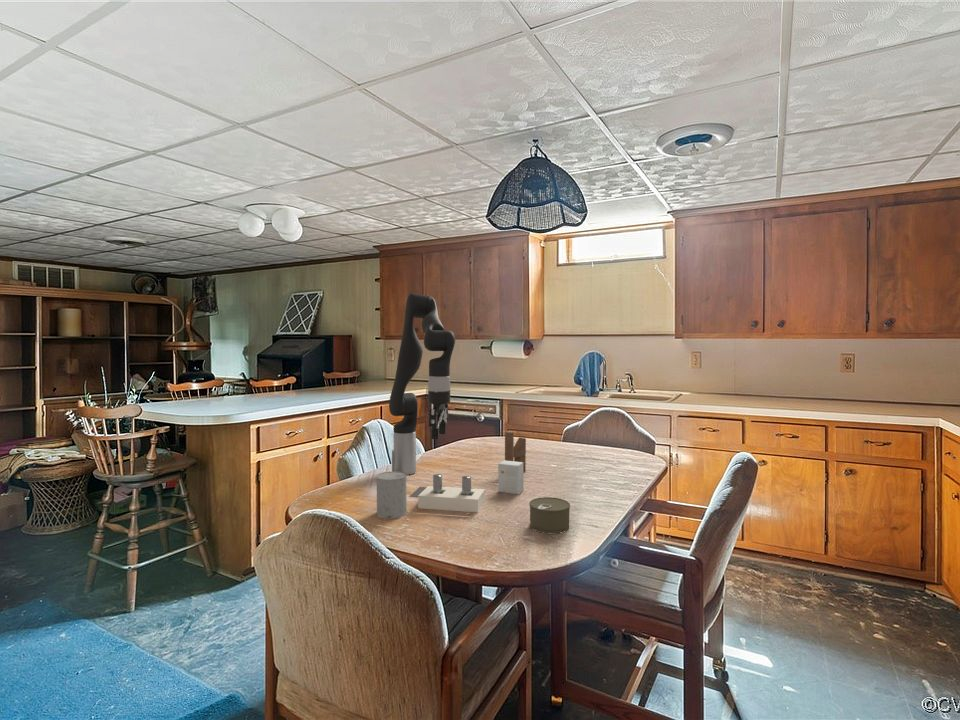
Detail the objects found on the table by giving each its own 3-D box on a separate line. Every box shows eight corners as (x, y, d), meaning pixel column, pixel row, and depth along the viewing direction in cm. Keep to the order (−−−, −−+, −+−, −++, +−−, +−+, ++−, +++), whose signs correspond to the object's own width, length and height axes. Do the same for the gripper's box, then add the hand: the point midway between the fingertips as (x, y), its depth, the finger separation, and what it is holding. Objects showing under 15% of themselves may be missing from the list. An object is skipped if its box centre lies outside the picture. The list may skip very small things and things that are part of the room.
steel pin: (432, 505, 165) (432, 476, 165) (434, 503, 168) (434, 473, 168) (440, 506, 165) (440, 476, 164) (443, 503, 168) (443, 474, 167)
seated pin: (461, 507, 163) (461, 477, 163) (463, 504, 166) (463, 475, 166) (470, 508, 163) (470, 478, 162) (472, 505, 166) (472, 476, 165)
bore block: (418, 509, 162) (418, 495, 162) (428, 498, 173) (428, 485, 173) (477, 513, 158) (477, 499, 158) (484, 502, 169) (484, 489, 169)
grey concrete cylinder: (392, 521, 152) (392, 481, 151) (370, 515, 157) (369, 476, 156) (413, 511, 160) (412, 474, 159) (390, 506, 165) (390, 470, 164)
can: (577, 525, 148) (577, 502, 148) (556, 537, 139) (556, 513, 139) (543, 516, 156) (543, 494, 156) (521, 527, 147) (521, 504, 146)
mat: (409, 497, 174) (409, 496, 174) (419, 487, 186) (419, 486, 186) (447, 500, 171) (447, 499, 171) (456, 490, 183) (456, 489, 183)
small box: (523, 490, 182) (524, 462, 182) (518, 494, 177) (518, 465, 177) (503, 487, 186) (503, 459, 185) (498, 491, 181) (498, 463, 180)
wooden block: (525, 471, 208) (526, 429, 208) (509, 476, 200) (509, 432, 200) (518, 470, 211) (519, 428, 210) (502, 475, 203) (502, 431, 202)
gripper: (435, 386, 176) (434, 432, 176) (421, 391, 162) (421, 440, 163) (455, 387, 174) (455, 433, 175) (443, 392, 160) (443, 441, 161)
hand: (438, 436), depth 169 cm, fingers open, 8 cm apart
